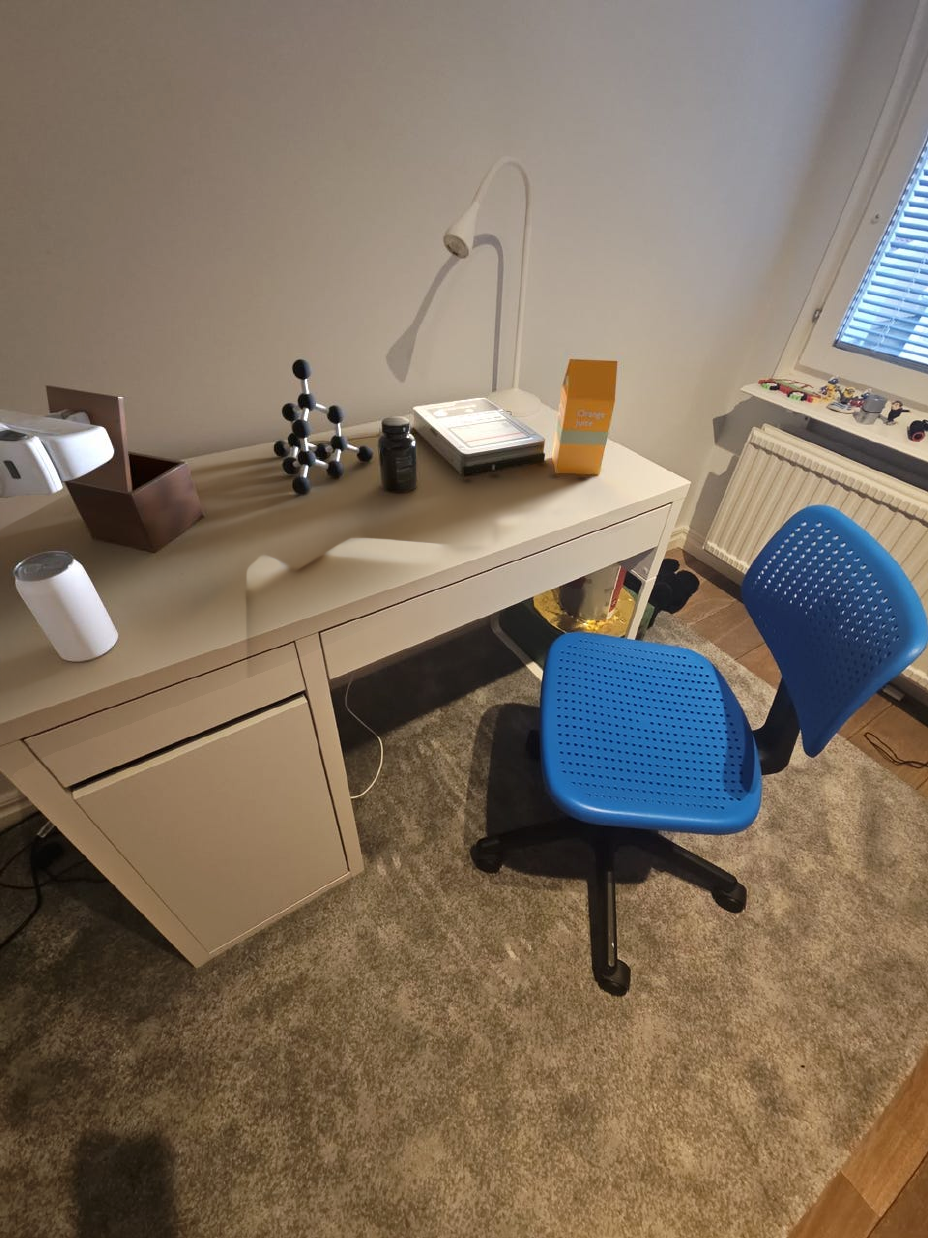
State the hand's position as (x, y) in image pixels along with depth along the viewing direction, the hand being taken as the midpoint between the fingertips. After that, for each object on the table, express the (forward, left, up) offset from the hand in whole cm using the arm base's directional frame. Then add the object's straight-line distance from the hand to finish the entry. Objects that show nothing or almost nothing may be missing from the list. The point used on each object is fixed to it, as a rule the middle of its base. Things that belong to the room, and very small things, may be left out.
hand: (79, 416), depth 72 cm
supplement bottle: (+40, +19, -19) cm, 49 cm away
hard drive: (+55, +39, -19) cm, 70 cm away
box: (+1, +3, -19) cm, 19 cm away
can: (+5, -24, -19) cm, 31 cm away
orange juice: (+75, +29, -19) cm, 83 cm away
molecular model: (+22, +26, -19) cm, 39 cm away
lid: (0, 0, -3) cm, 3 cm away
